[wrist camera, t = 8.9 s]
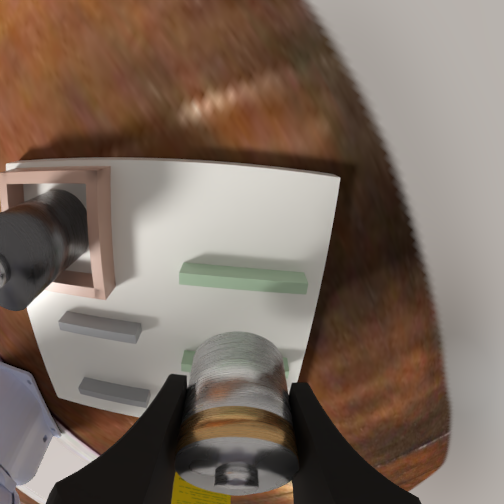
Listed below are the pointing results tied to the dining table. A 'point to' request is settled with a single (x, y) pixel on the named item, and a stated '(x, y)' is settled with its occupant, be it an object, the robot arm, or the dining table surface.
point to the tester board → (174, 268)
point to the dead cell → (39, 245)
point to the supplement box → (195, 494)
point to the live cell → (237, 418)
